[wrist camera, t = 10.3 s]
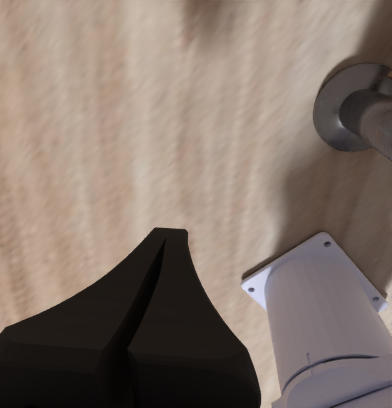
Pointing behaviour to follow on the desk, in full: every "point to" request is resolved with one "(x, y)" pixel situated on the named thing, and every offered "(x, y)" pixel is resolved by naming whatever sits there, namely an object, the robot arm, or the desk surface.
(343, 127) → the gate post
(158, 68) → the desk surface
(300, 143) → the desk surface
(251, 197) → the desk surface
